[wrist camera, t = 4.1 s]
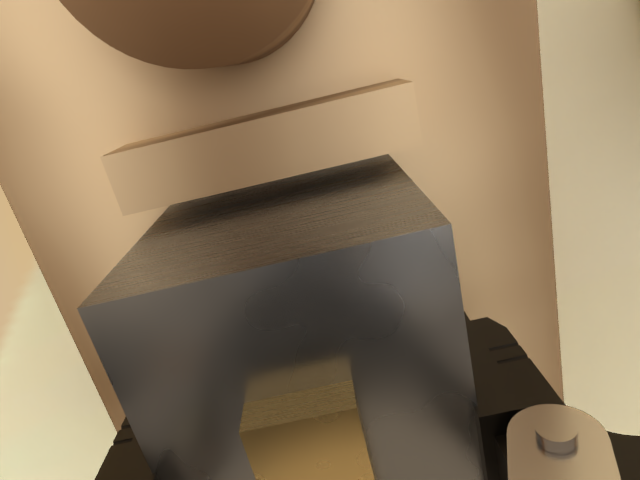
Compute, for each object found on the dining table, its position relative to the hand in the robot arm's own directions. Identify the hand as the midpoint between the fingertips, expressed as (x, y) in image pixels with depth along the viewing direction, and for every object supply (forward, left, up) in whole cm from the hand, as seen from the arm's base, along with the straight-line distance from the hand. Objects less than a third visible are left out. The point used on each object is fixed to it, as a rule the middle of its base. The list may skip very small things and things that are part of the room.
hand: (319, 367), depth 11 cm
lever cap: (0, 0, -2) cm, 2 cm away
